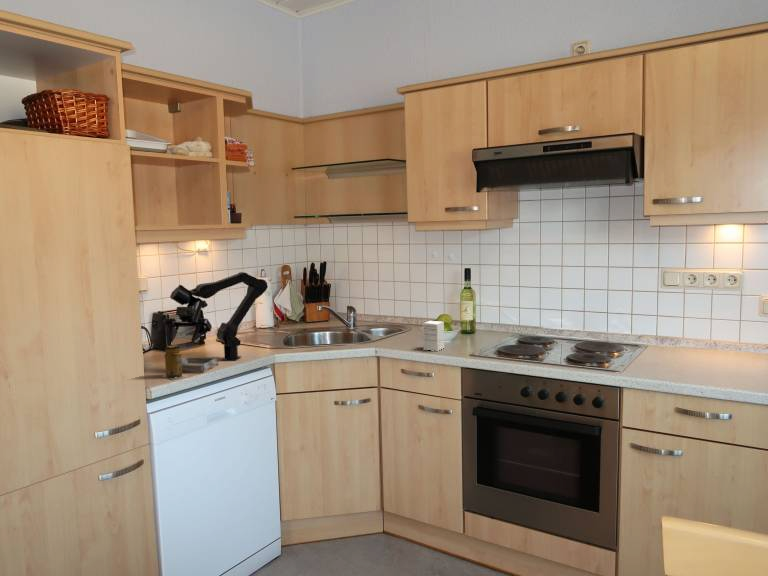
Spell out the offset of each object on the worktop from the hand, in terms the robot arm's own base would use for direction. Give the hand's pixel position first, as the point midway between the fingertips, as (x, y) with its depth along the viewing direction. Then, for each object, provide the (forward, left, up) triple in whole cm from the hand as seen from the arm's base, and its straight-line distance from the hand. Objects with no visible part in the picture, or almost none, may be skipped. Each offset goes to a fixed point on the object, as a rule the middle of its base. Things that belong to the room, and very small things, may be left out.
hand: (181, 342), depth 249 cm
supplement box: (-49, +96, -12) cm, 109 cm away
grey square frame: (-6, +2, -12) cm, 14 cm away
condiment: (+7, 0, -12) cm, 14 cm away
